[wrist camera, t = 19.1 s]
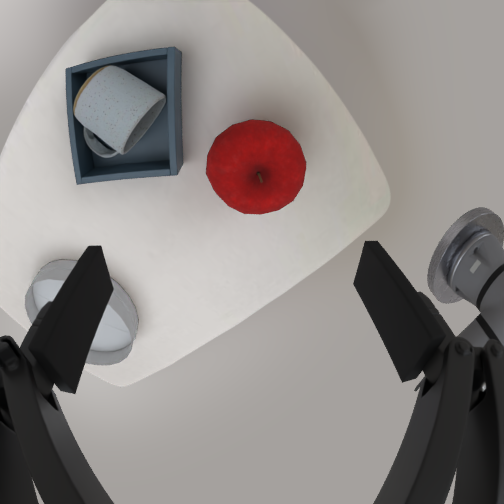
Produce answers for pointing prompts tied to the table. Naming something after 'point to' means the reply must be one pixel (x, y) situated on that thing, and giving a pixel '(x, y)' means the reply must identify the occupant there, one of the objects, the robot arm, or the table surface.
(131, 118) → the ceramic mug
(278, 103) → the table surface
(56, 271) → the dish
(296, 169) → the apple
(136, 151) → the tub
